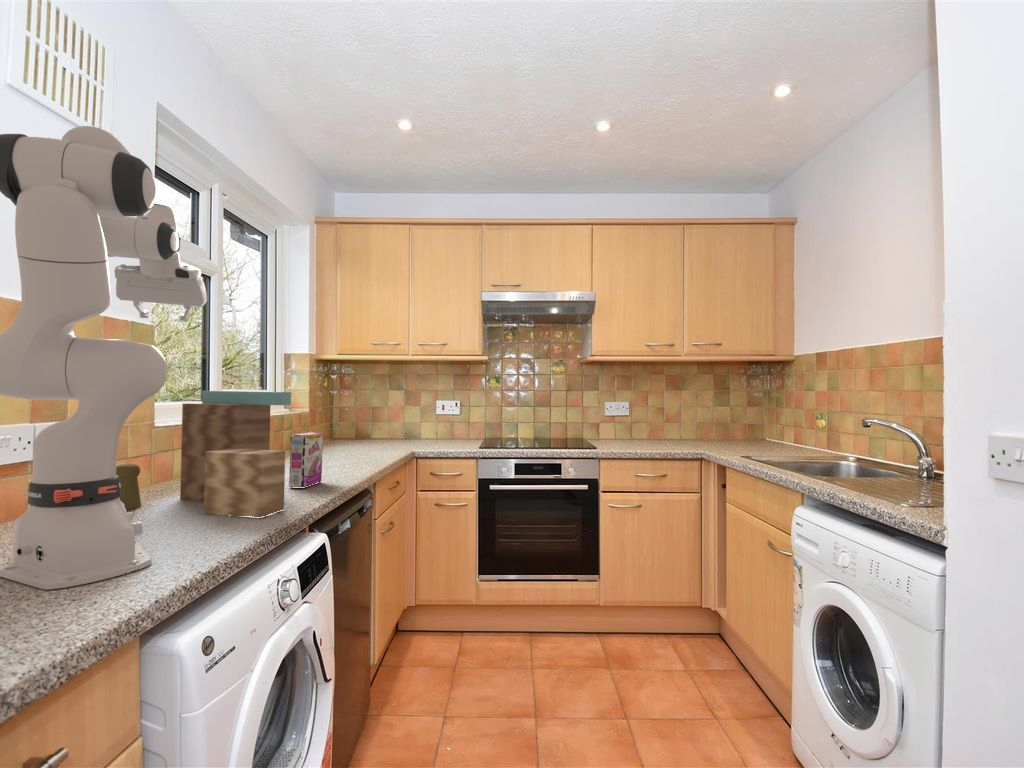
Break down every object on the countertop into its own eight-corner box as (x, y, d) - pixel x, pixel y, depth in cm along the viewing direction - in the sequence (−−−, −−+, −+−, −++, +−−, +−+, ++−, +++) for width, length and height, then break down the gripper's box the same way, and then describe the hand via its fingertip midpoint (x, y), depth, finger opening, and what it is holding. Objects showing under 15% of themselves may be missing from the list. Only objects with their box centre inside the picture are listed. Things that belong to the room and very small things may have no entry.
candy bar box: (303, 489, 149) (304, 435, 149) (288, 488, 150) (289, 434, 150) (322, 482, 160) (323, 432, 160) (308, 482, 161) (309, 431, 161)
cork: (115, 512, 119) (116, 466, 119) (107, 508, 123) (108, 464, 123) (144, 507, 124) (146, 464, 124) (136, 504, 128) (138, 461, 128)
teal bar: (290, 404, 135) (291, 392, 135) (282, 405, 132) (282, 392, 132) (212, 403, 141) (212, 390, 141) (201, 403, 138) (202, 390, 138)
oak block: (283, 511, 123) (285, 450, 123) (260, 519, 115) (261, 454, 115) (230, 506, 126) (231, 448, 127) (203, 514, 119) (205, 451, 119)
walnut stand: (268, 494, 141) (270, 403, 142) (235, 503, 130) (238, 404, 130) (216, 490, 145) (218, 402, 146) (180, 499, 134) (182, 403, 134)
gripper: (107, 264, 125) (113, 318, 129) (200, 273, 131) (203, 324, 135) (119, 262, 130) (124, 313, 135) (207, 270, 136) (209, 319, 141)
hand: (164, 319), depth 135 cm, fingers open, 8 cm apart
